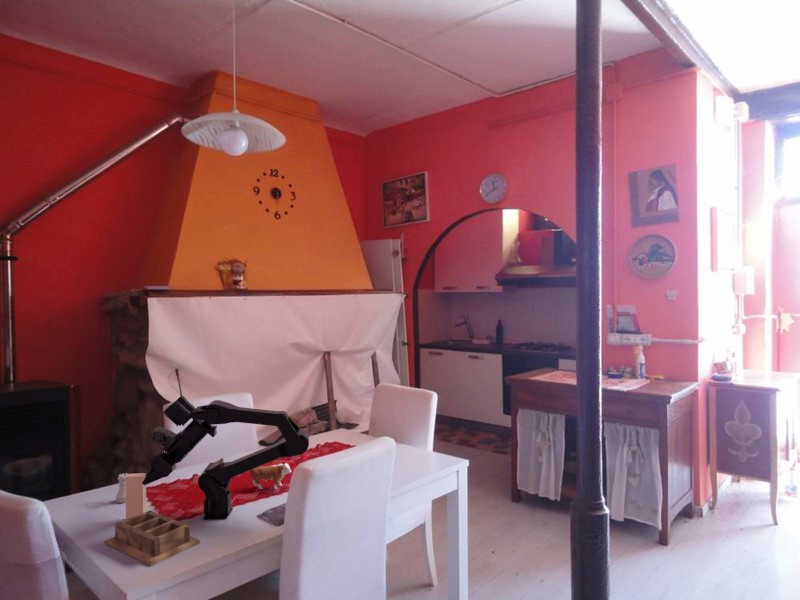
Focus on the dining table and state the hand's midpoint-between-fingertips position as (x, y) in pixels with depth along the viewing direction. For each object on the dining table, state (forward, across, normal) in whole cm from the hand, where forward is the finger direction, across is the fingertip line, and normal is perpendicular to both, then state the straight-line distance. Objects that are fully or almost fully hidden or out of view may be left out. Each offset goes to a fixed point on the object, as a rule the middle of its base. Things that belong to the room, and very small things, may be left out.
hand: (149, 478), depth 146 cm
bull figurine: (-14, -19, +30) cm, 38 cm away
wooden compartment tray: (+4, +15, +12) cm, 20 cm away
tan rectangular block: (+11, 0, +6) cm, 12 cm away
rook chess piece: (+17, -15, 0) cm, 23 cm away
